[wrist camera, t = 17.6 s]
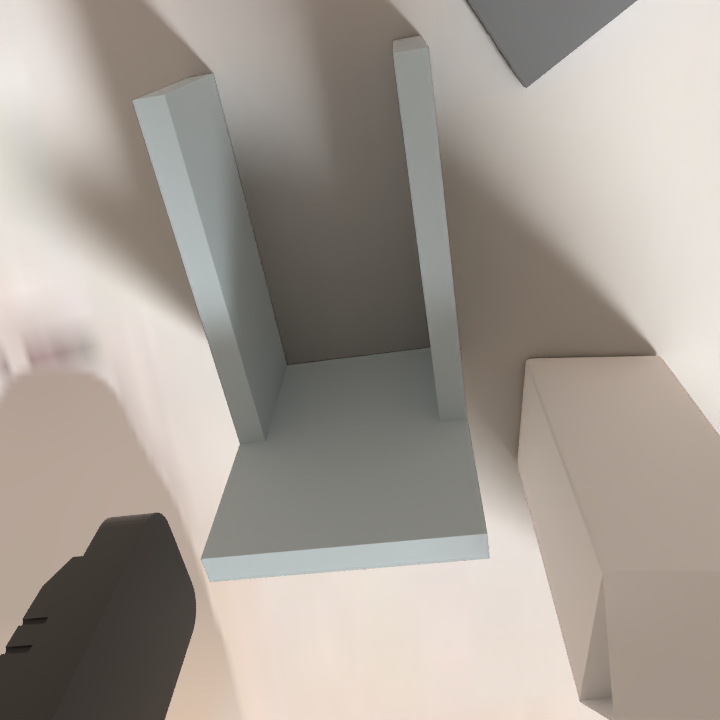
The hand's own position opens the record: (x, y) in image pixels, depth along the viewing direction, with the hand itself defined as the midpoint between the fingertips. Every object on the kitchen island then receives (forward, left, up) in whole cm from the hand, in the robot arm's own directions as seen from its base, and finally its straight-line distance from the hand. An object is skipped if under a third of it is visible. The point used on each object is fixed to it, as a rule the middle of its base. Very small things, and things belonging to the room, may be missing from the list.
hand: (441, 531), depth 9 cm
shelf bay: (0, +5, -24) cm, 24 cm away
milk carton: (-17, +1, -24) cm, 30 cm away
